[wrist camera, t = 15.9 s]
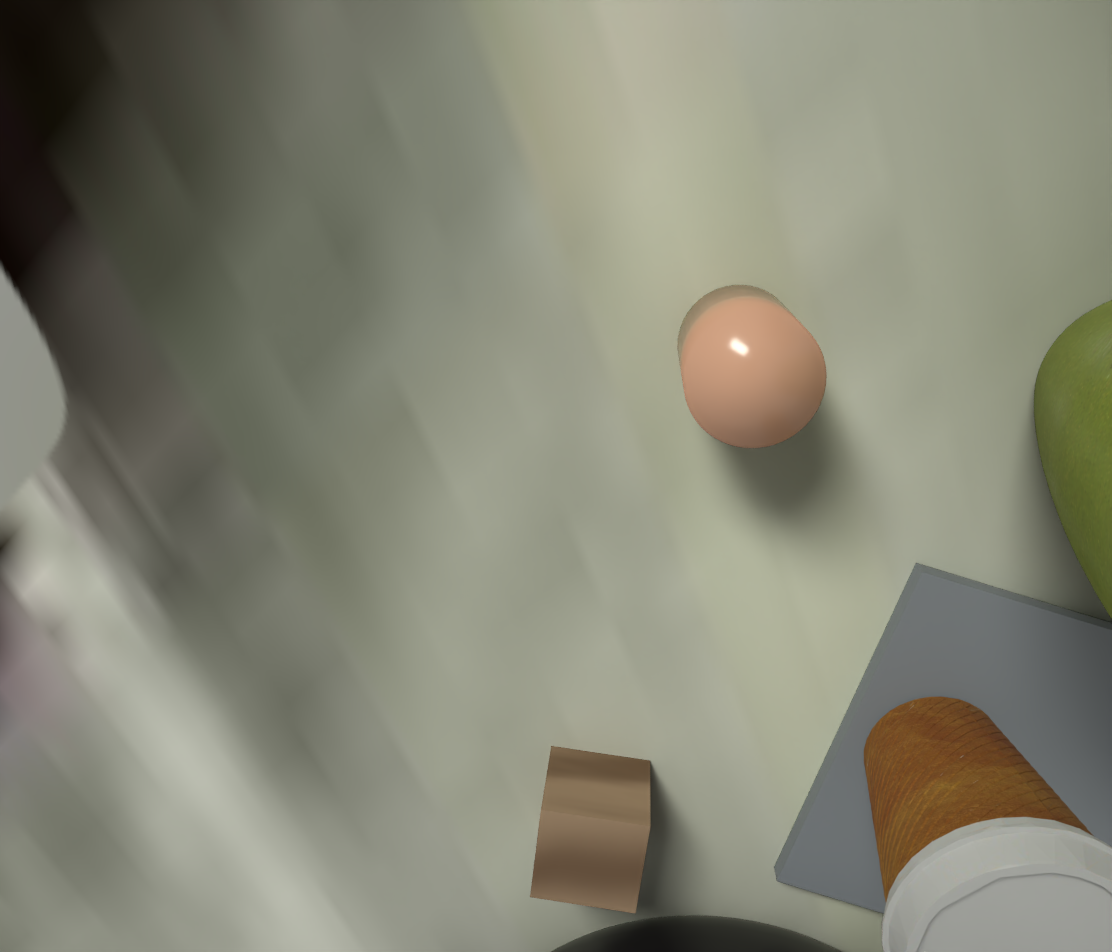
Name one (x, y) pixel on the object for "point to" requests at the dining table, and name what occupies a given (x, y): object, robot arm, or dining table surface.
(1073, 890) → the disposable coffee cup
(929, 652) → the slate board
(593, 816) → the walnut block
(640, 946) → the round tray
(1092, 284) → the dining table surface
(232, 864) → the dining table surface
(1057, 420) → the flower pot
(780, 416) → the light brown egg
